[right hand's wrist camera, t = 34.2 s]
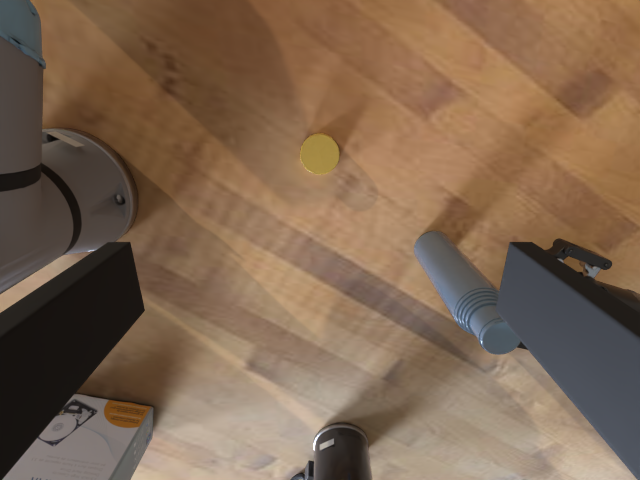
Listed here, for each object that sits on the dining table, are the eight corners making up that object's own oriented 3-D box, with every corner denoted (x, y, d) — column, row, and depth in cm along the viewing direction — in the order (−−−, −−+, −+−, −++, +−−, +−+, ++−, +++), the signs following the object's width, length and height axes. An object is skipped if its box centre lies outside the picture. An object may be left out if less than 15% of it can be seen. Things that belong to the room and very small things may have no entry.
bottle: (454, 257, 48) (536, 352, 30) (419, 269, 49) (478, 369, 31) (445, 225, 46) (527, 305, 28) (409, 238, 47) (466, 324, 29)
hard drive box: (154, 404, 57) (76, 548, 39) (153, 437, 60) (79, 586, 42) (57, 389, 56) (-73, 530, 38) (60, 423, 59) (-59, 571, 41)
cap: (295, 140, 42) (294, 141, 41) (332, 127, 42) (332, 128, 40) (307, 176, 44) (307, 179, 42) (343, 165, 43) (344, 167, 42)
